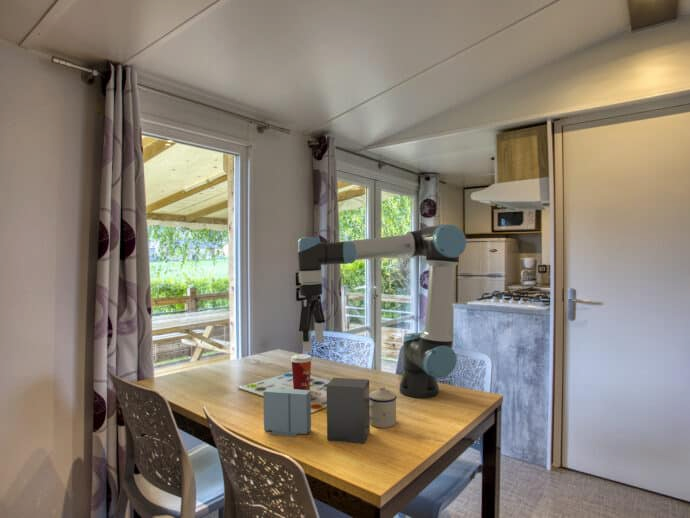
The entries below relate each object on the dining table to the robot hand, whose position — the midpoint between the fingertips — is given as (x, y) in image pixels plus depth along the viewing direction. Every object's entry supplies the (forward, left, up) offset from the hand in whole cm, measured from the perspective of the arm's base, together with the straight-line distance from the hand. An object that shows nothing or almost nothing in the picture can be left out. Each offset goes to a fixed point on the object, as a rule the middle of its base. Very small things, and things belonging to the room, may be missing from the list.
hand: (313, 346), depth 141 cm
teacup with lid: (-22, +2, -24) cm, 33 cm away
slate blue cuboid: (+5, +13, -23) cm, 27 cm away
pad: (+5, +13, -24) cm, 27 cm away
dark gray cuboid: (-14, +13, -24) cm, 30 cm away
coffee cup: (+12, -19, -24) cm, 33 cm away
